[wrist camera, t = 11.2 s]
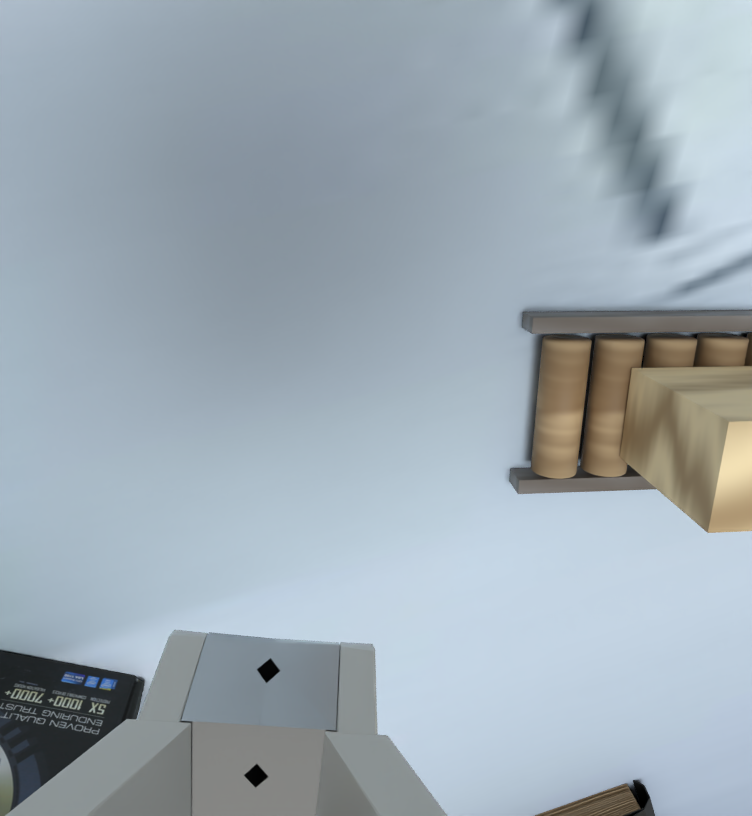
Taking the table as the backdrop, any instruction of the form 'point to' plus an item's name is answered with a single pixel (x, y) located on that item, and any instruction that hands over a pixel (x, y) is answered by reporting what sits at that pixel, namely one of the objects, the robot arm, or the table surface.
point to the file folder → (609, 804)
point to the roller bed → (610, 387)
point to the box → (54, 718)
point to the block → (694, 440)
